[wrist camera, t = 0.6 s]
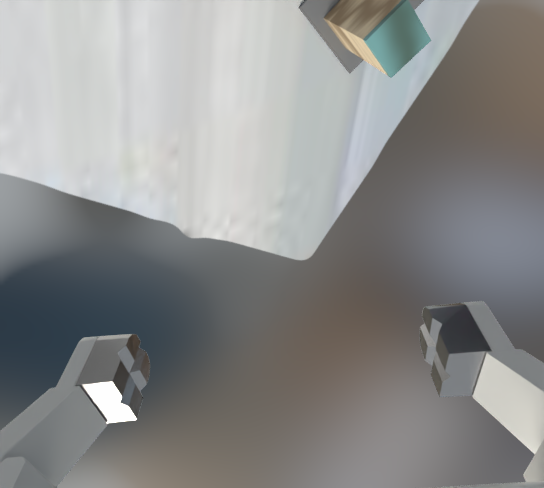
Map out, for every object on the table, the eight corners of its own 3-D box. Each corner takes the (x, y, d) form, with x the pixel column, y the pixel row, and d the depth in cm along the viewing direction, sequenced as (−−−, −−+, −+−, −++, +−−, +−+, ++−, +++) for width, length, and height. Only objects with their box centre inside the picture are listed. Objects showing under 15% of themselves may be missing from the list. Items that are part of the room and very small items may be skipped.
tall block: (346, 48, 51) (391, 77, 41) (323, 18, 49) (365, 41, 38) (375, 18, 50) (431, 40, 39) (354, -16, 47) (407, -1, 36)
